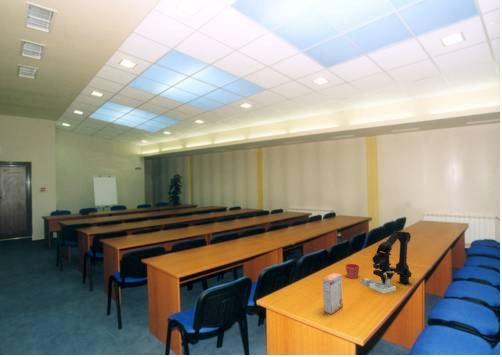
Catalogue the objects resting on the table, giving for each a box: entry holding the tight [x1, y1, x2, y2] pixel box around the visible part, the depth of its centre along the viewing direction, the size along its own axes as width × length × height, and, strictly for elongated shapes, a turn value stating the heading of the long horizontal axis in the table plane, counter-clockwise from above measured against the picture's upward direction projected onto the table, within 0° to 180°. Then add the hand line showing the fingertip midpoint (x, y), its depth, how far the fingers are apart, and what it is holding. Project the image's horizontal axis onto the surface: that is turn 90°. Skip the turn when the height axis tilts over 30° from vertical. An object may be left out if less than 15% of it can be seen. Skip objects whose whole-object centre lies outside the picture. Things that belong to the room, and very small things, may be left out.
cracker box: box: [321, 272, 344, 315], centre depth 168 cm, size 14×6×21 cm, turn 134°
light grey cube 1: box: [382, 277, 391, 286], centre depth 195 cm, size 4×4×4 cm
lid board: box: [358, 278, 378, 286], centre depth 209 cm, size 14×11×1 cm
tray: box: [369, 280, 397, 294], centre depth 196 cm, size 12×12×3 cm
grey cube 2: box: [362, 277, 371, 287], centre depth 204 cm, size 4×4×4 cm
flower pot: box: [345, 263, 360, 279], centre depth 222 cm, size 11×11×10 cm
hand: (386, 283), depth 195 cm, fingers closed on light grey cube 1, 4 cm apart
